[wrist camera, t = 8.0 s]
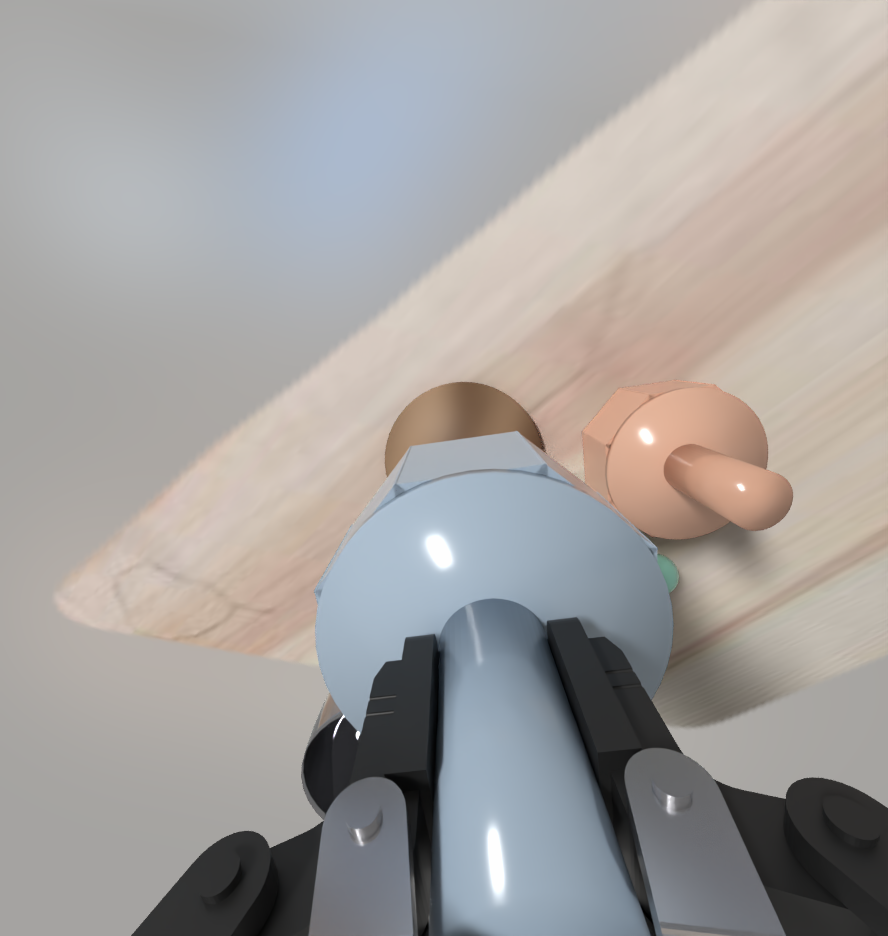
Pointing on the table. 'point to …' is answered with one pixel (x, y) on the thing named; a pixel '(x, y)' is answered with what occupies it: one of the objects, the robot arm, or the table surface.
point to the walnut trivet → (456, 418)
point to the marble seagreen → (668, 571)
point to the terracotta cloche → (683, 461)
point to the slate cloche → (500, 671)
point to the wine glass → (329, 757)
